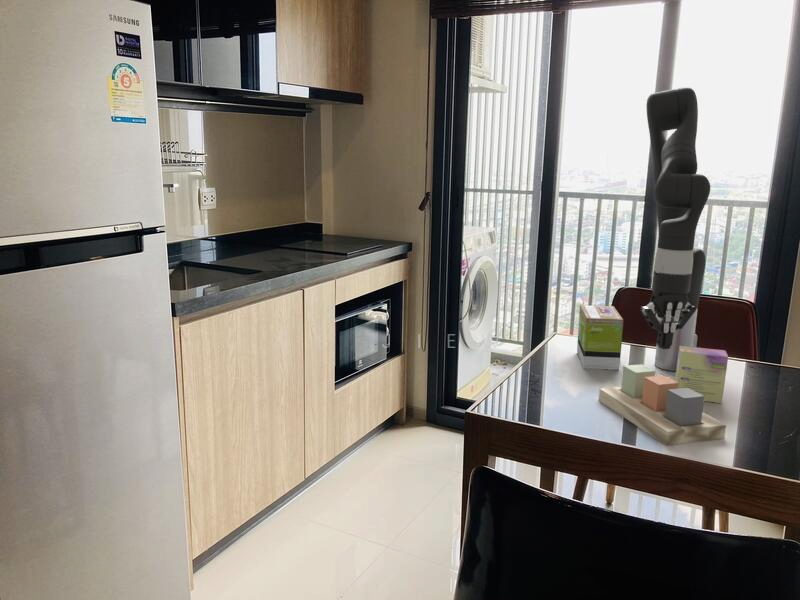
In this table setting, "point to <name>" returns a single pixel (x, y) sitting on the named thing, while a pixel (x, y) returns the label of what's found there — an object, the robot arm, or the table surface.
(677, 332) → the robot arm
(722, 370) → the box
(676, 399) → the grey block
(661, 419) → the light wooden board
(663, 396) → the button terracotta
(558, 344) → the table surface
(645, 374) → the button sage
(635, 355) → the table surface
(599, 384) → the table surface
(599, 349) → the tea box
